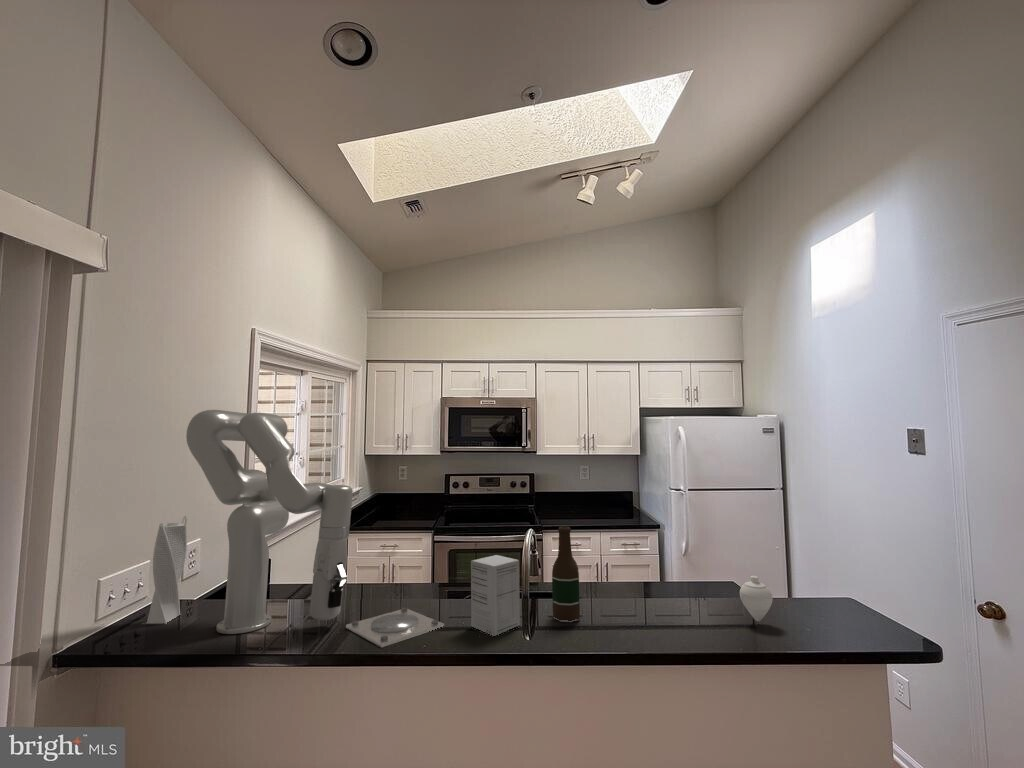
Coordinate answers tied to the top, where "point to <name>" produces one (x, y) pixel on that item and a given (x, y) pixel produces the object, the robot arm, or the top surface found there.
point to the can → (322, 598)
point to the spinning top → (756, 598)
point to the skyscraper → (168, 571)
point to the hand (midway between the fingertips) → (327, 602)
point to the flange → (393, 627)
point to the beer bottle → (565, 580)
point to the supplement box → (495, 594)
